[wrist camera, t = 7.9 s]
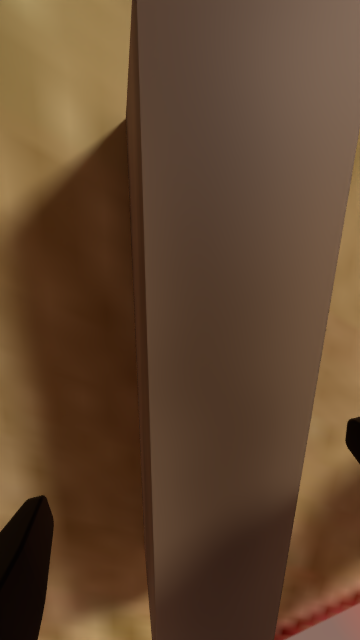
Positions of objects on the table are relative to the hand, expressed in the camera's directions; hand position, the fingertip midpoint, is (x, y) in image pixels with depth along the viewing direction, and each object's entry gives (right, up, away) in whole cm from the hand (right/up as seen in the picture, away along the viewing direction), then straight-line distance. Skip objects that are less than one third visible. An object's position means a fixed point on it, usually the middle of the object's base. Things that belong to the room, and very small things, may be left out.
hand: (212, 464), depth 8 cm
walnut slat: (-1, +1, +5) cm, 5 cm away
